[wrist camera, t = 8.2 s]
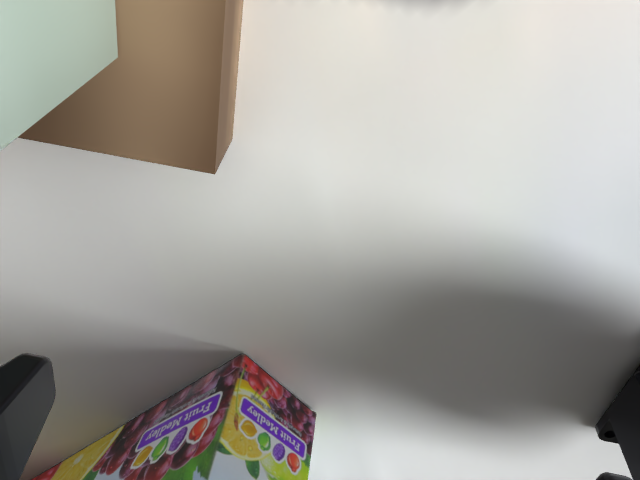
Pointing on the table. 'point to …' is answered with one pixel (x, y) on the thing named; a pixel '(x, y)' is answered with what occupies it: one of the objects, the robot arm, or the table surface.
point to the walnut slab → (158, 87)
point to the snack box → (206, 434)
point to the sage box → (49, 55)
